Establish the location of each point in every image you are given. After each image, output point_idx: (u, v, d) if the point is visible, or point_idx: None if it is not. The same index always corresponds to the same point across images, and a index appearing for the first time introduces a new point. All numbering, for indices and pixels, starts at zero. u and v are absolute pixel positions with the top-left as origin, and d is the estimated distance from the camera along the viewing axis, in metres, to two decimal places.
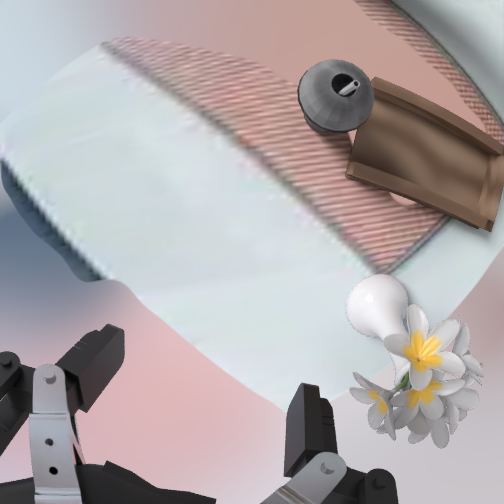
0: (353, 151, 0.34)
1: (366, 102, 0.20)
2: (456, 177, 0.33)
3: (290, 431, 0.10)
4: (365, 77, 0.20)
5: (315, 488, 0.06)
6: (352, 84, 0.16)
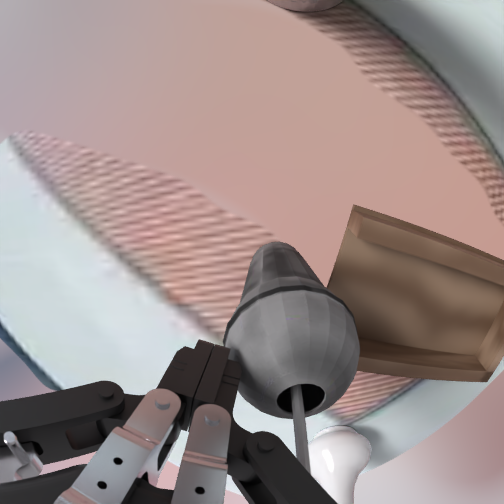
0: None
1: (339, 396, 0.12)
2: (460, 323, 0.25)
3: None
4: (348, 361, 0.12)
5: (213, 443, 0.07)
6: None
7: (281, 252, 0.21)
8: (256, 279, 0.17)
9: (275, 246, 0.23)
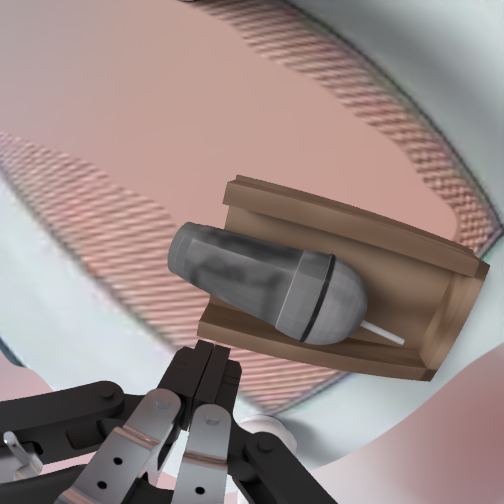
0: None
1: None
2: (387, 309, 0.25)
3: None
4: None
5: (213, 443, 0.07)
6: (400, 343, 0.21)
7: (228, 235, 0.22)
8: (270, 271, 0.20)
9: (203, 231, 0.22)
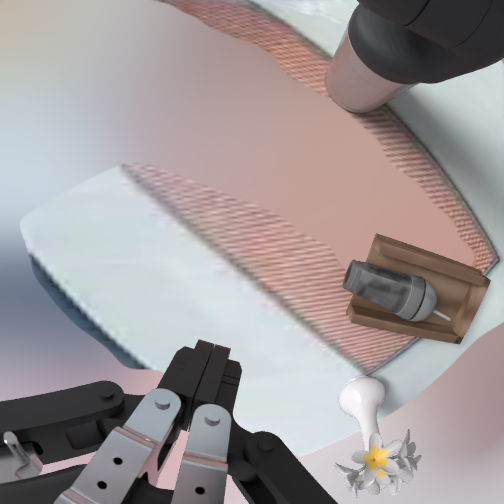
0: (354, 295, 0.44)
1: None
2: (438, 304, 0.43)
3: None
4: None
5: (213, 443, 0.07)
6: (448, 319, 0.38)
7: (378, 268, 0.39)
8: (401, 286, 0.37)
9: (366, 266, 0.40)
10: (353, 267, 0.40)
